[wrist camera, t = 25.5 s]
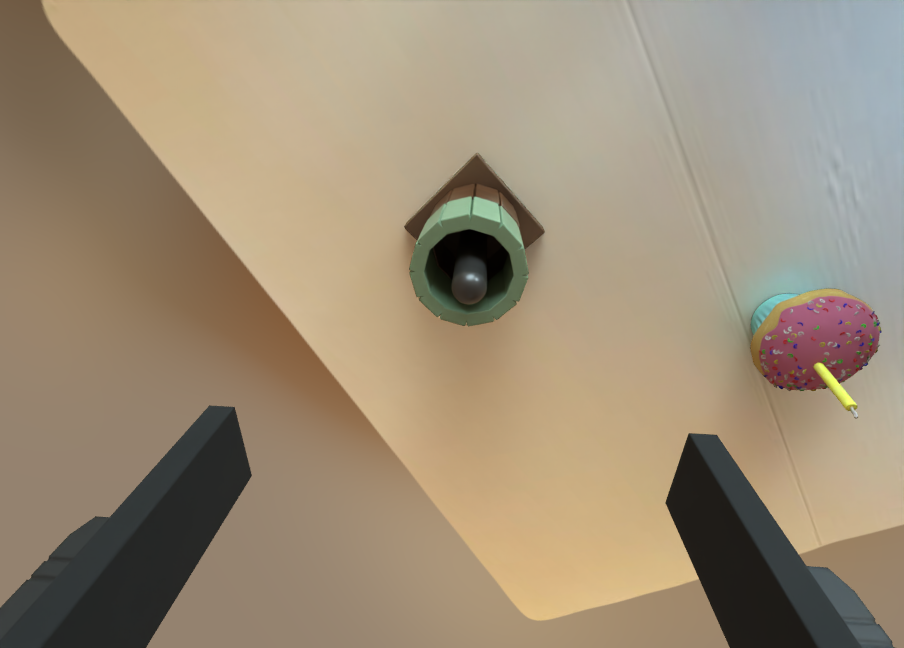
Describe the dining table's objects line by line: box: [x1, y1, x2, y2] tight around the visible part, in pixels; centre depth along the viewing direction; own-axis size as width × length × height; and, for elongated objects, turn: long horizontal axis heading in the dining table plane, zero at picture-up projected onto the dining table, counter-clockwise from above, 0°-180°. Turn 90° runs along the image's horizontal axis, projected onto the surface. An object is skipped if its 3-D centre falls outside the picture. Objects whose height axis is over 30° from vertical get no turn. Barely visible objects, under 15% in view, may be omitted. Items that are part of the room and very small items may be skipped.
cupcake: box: [750, 289, 881, 418], centre depth 34 cm, size 9×8×12 cm
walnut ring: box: [430, 184, 523, 281], centre depth 33 cm, size 7×7×5 cm
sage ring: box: [409, 197, 529, 326], centre depth 29 cm, size 7×7×5 cm
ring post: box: [404, 153, 545, 304], centre depth 31 cm, size 8×8×14 cm
